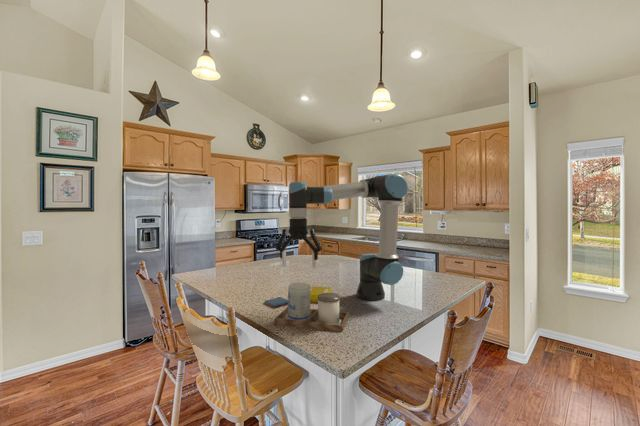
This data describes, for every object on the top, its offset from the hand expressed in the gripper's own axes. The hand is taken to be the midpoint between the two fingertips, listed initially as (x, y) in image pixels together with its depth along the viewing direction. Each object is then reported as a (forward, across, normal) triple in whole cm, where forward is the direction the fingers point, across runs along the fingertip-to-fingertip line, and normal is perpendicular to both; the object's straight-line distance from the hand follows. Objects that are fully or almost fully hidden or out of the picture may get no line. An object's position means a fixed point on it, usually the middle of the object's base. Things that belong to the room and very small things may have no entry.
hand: (298, 266), depth 130 cm
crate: (+23, -7, +2) cm, 24 cm away
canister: (+22, -14, +2) cm, 26 cm away
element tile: (+24, +1, -30) cm, 38 cm away
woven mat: (+24, +17, -16) cm, 33 cm away
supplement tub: (+22, 0, +2) cm, 22 cm away
